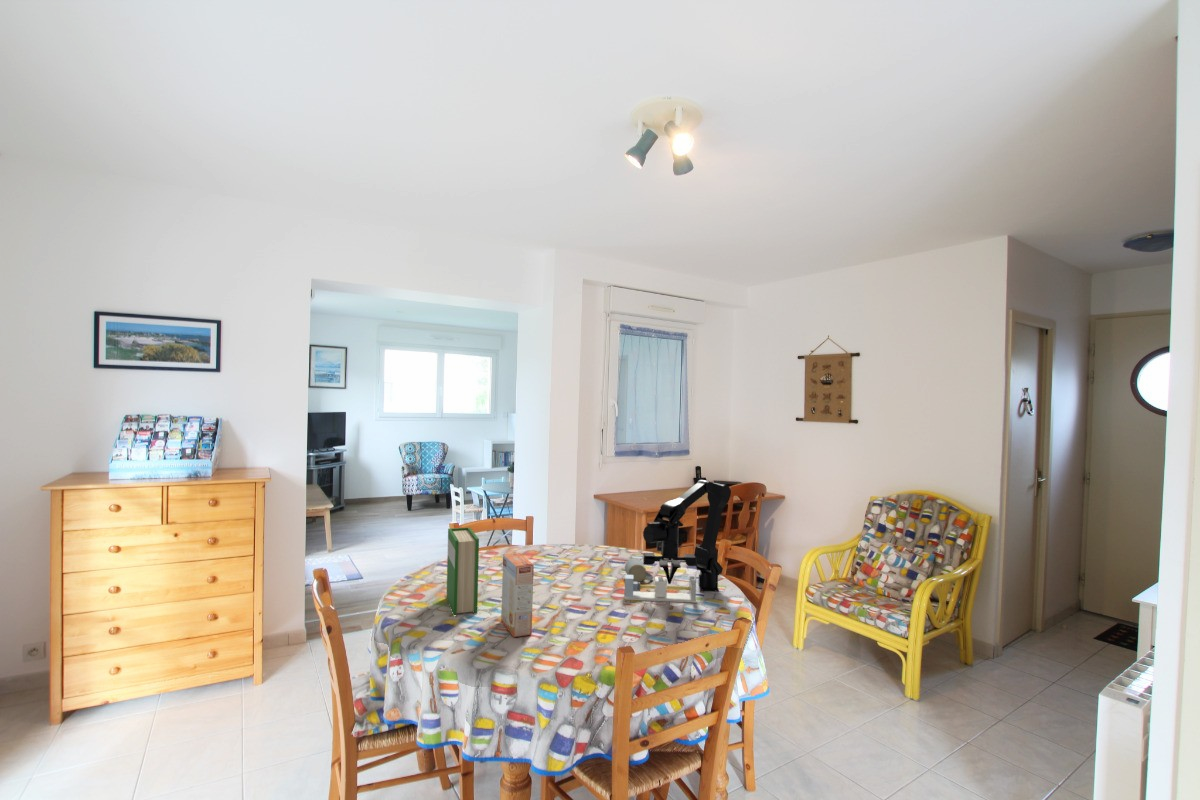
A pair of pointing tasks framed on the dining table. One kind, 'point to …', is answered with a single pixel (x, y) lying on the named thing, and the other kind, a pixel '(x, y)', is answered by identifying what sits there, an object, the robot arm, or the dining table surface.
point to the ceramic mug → (637, 570)
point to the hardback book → (462, 570)
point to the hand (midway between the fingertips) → (669, 583)
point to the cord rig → (650, 596)
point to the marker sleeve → (660, 587)
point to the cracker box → (517, 594)
